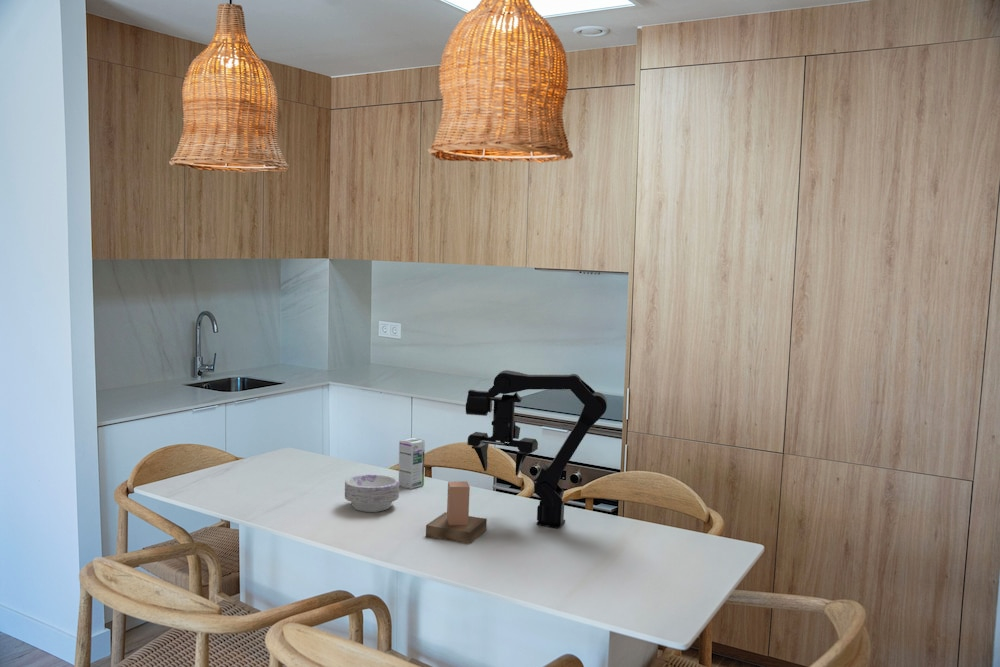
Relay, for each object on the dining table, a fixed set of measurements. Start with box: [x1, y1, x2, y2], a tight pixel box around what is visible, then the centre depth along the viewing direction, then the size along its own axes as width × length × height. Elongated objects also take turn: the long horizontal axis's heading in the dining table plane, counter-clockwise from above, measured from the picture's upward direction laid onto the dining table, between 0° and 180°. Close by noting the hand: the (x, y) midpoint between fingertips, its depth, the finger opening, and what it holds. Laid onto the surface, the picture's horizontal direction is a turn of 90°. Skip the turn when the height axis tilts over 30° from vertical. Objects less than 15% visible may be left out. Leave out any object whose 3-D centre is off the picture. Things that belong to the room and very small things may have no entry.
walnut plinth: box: [425, 511, 488, 545], centre depth 212 cm, size 12×12×3 cm
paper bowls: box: [344, 474, 400, 513], centre depth 230 cm, size 15×15×8 cm
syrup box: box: [398, 437, 426, 490], centre depth 253 cm, size 6×6×14 cm
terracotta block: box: [446, 480, 471, 525], centre depth 211 cm, size 5×5×10 cm
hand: (501, 473), depth 224 cm, fingers open, 9 cm apart
